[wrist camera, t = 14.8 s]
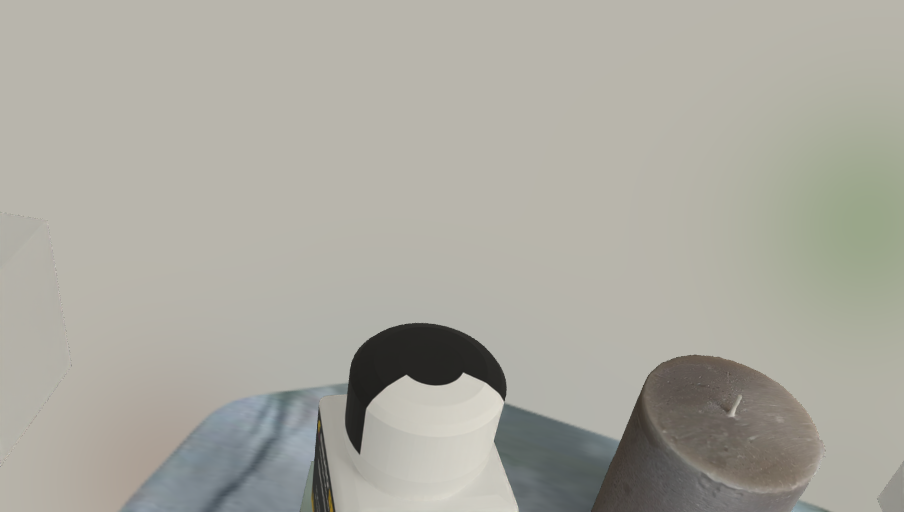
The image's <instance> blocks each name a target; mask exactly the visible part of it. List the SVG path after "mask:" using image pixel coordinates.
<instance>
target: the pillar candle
mask: <svg viewBox="0 0 904 512" xmlns="http://www.w3.org/2000/svg"><path fill="white" fill-rule="evenodd" d="M825 451H826V450H825V446H824V443H823V441H822V440H820V437H819V434H818V431H817V429H816V426H815V424H814V423H813V421H812V419H811V417H810V416H809V414H808V413H807V412H806V410H805V409H804V407H803V406H802V405H801V404H800V403H799V402H798V401H797V400H796V398H794V397H793V396H792V395H791V394H790V393H789V392H788V391H787V390H786V389H785V388H784V387H783V386H781V385H780V384H779V383H777V382H775V381H773V380H772V379H771V378H769V377H767V376H766V375H764V374H762V373H760V372H758V371H756V370H754V369H751V368H749V367H747V366H745V365H742V364H739V363H736V362H734V361H731V360H726V359H723V358H720V357H713V356H701V355H688V356H681V357H676V358H674V359H671V360H669V361H666V362H663V363H661V364H660V365H659V366H657V367H656V368H655V369H654V370H653V371H652V372H651V373H650V374H649V375H648V377H647V379H646V381H645V383H644V385H643V388H642V390H641V393H640V395H639V397H638V399H637V402H636V404H635V407H634V409H633V412H632V414H631V417H630V419H629V422H628V424H627V427H626V429H625V431H624V434H623V436H622V439H621V441H620V443H619V446H618V448H617V451H616V453H615V456H614V458H613V460H612V462H611V464H610V466H609V469H608V472H607V474H606V476H605V479H604V481H603V484H602V486H601V489H600V491H599V493H598V496H597V498H596V501H595V503H594V506H593V508H592V510H591V512H791V511H792V509H793V507H794V506H795V504H796V502H797V501H798V499H799V498H800V496H801V495H802V494H803V492H804V491H805V489H806V487H807V486H808V484H809V482H810V481H811V479H812V478H813V477H814V475H815V473H816V472H817V471H818V470H819V467H820V463H821V459H822V458H823V457H825Z"/></svg>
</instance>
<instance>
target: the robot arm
mask: <svg viewBox="0 0 904 512" xmlns="http://www.w3.org/2000/svg"><path fill="white" fill-rule="evenodd" d="M71 366H72V365H71V359H70V353H69V347H68V341H67V335H66V329H65V323H64V317H63V311H62V305H61V299H60V293H59V287H58V281H57V275H56V268H55V263H54V256H53V250H52V244H51V239H50V232H49V227H48V221H47V220H42V219H37V218H31V217H24V216H19V215H13V214H7V213H2V212H0V467H1V465H2V464H3V462H4V461H5V459H6V458H7V456H8V455H9V454H10V452H11V451H12V449H13V448H14V447H15V445H16V444H17V442H18V441H19V440H20V438H21V437H22V435H23V434H24V432H25V431H26V430H27V428H28V427H29V425H30V424H31V423H32V421H33V420H34V418H35V417H36V416H37V414H38V413H39V411H40V410H41V408H42V407H43V406H44V404H45V403H46V401H47V400H48V399H49V397H50V396H51V394H52V393H53V392H54V390H55V389H56V387H57V386H58V384H59V383H60V382H61V380H62V379H63V377H64V376H65V375H66V373H67V371H68V370H69V369H70V367H71ZM877 500H878V502H879V505H880V507H881V509H882V511H883V512H904V462H903V463H902V465H901V466H900V467H899V469H898V470H897V471H896V473H895V474H894V476H893V477H892V479H891V480H890V481H889V483H888V484H887V485H886V487H885V488H884V490H883V491H882V492H881V494H880V495H879V497H878V498H877Z"/></svg>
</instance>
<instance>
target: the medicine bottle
mask: <svg viewBox="0 0 904 512" xmlns="http://www.w3.org/2000/svg"><path fill="white" fill-rule="evenodd" d="M505 397H506V379H505V376H504V373H503V371H502V369H501V367H500V365H499V363H498V362H497V361H496V359H495V358H494V357H493V355H492V354H491V353H490V352H489V351H488V350H487V349H486V348H485V347H484V346H483V345H482V344H481V343H479V342H478V341H477V340H475V339H474V338H472V337H470V336H468V335H467V334H465V333H462V332H460V331H458V330H455V329H452V328H449V327H446V326H441V325H436V324H428V323H412V324H404V325H399V326H395V327H392V328H389V329H386V330H384V331H382V332H380V333H378V334H377V335H375V336H373V337H371V338H370V339H369V340H367V341H366V342H365V343H364V344H363V345H362V346H361V347H360V348H359V349H358V351H357V352H356V354H355V355H354V358H353V360H352V363H351V368H350V375H349V384H348V393H347V394H346V395H331V396H324V397H323V398H321V400H320V402H319V411H318V423H317V434H316V446H315V458H314V470H313V482H312V494H311V502H312V510H313V512H519V511H518V505H517V502H516V500H515V497H514V494H513V492H512V489H511V486H510V483H509V481H508V478H507V475H506V473H505V470H504V467H503V465H502V462H501V459H500V457H499V454H498V451H497V448H496V446H495V443H494V438H495V434H496V430H497V427H498V423H499V419H500V416H501V412H502V408H503V405H504V401H505Z"/></svg>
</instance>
